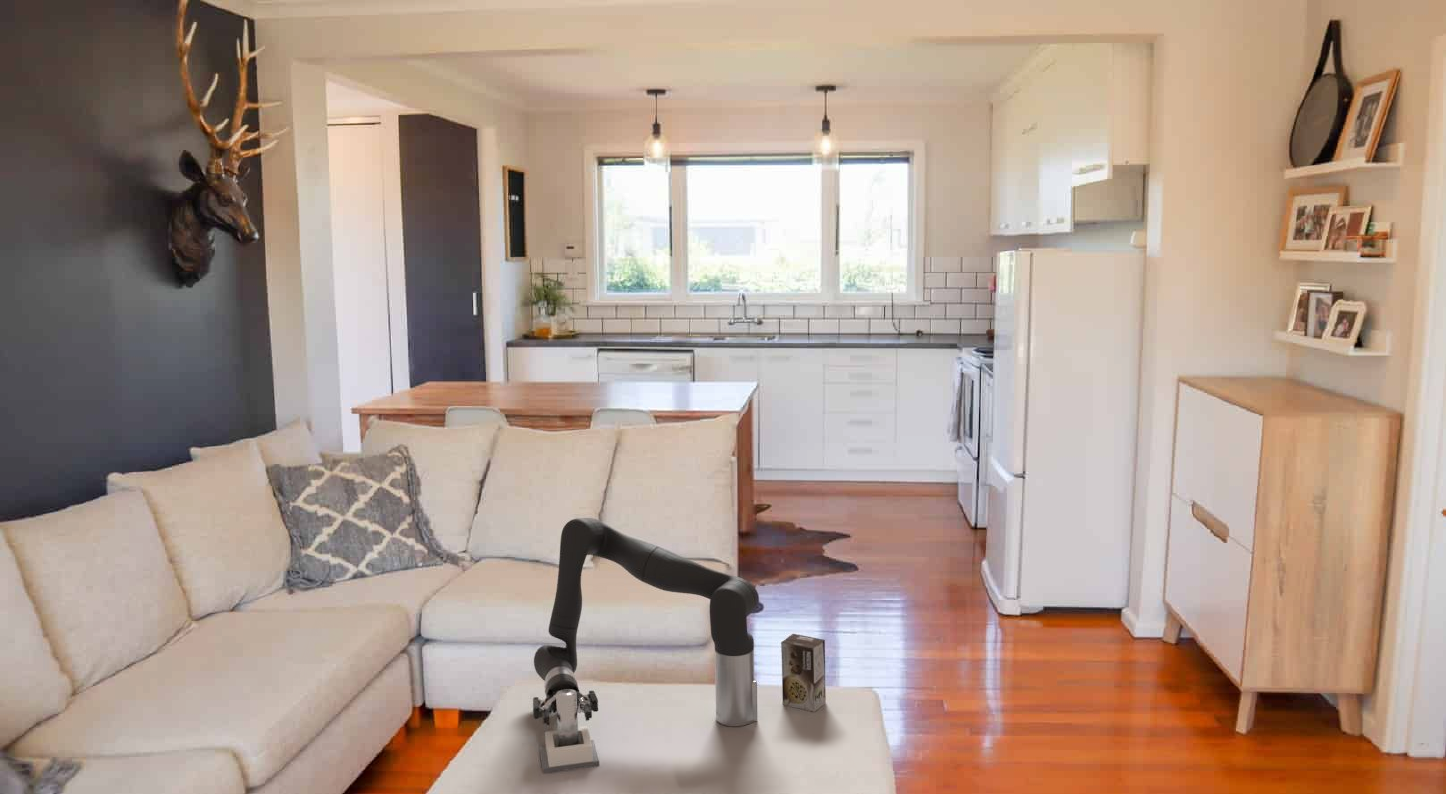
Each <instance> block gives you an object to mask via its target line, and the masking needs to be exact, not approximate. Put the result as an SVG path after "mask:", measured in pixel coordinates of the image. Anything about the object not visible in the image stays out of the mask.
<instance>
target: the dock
mask: <svg viewBox="0 0 1446 794" xmlns="http://www.w3.org/2000/svg"><path fill="white" fill-rule="evenodd" d="M544 734H545V735H544V738H545V741H544V742H545V745H544V746H540V747H539V752H540V753H539V754H540V761H541V767H542V773H543V774H547V773H552V772H553V773H554V772H560V771H561V772H562V771H568V770H576V769H584V768H592V767H597V766H600V759H599V756H598V752H597V748H596V743H595V740H594V739H591V735H590V732H589V728H588V726H582V727H578V742H579V745H571V746H564V747H558V729H557V730H552V731H551V730H550V731H545V732H544Z"/></svg>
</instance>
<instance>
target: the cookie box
mask: <svg viewBox="0 0 1446 794" xmlns="http://www.w3.org/2000/svg"><path fill="white" fill-rule="evenodd" d="M780 644H781V645H780V647H781V650H780V651H781V680H782V682H781V683H782V691H781V692H782V694H781V695H782V705H783V706H788V707H791V708H792V707H793V708H797V709H801V710H806V711H810V712H816V711H818V710H819V709H820V708H821V707H823V706H824V705H825V704H826V702H827V701H826V695H827V694H826V639H822V638H819V637H812V636H807V635H802V634H796V633H792V634H790V635H789V636H788V637H787V638H785V639H784V640H783V641H781V642H780Z"/></svg>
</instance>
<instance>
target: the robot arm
mask: <svg viewBox="0 0 1446 794" xmlns="http://www.w3.org/2000/svg"><path fill="white" fill-rule="evenodd" d="M559 544H560V545H559V558H558V559H559V561H558V571H557V573H558V574H557V583H556V591H555V597H554V603H553V606H552V612H551V617H550V621H549V625H548V634H549V635H550V636H551V637H553V638H556V639H558V640H560V641H563V642H564V644H565V647H563V646H555V645H550V644H549V645H548V644H545V645H542V646H540V647H539V648H537V650H536V651H535V653H534V657H533V666H534V670H535V672H536V674H537V675H538V676H539V677H540V678H541V679H542V680H543V681H544V694H545V696H546V697H545V699H542V700H541V699H539V697H538V696H534V697H533V698H532V713H533V715H532V717H533V719H534V720H538V719H539V718H541V720H542V724H544V725H545V724H546V727H547V726H550V725H551V724H550V721H551V719H550V718H551V717H554V716H556V715H557V704H556V693H557V692H558V691H560V690H564V689H572V690H575V691H576V693H577V714H581V713H583V714H584V718H585V721H586V722H589V721H590V719H592V717H593V713H592V712H594V713H595V712H598V711H599V704H598V703H599V698H597V695H596V692H595V690H588V693H587V694H583V693H581V692H580V688H579V685H578V681H577V677H576V675H575V673H576V670H577V667H578V654H577V653H578V652H577V634H578V628H579V624H580V619H581V616H582V615H581V614H582V610H583V594H582V572H583V567H584V564H585V562H586V558H587V556H597V557H600V558H603V559H605V560H608V561H611V562H613V563H616V564H618V565H619V566H620V567H622V568H623V569H625V571H627V572H628V573H629V574H630V575H631V576H633V577H634V578H635V579H637V580H639V581H640V582H642V583H644V584H646V585H649V586H650V587H653V588H655V589H658V590H662V591H665V592H671V593H677V594H678V593H679V594H687V595H696V596H700V597H704V598H707V599H708V600H709V624H710V634H711V639H712V641H713V644H714V671H715V672H714V673H715V674H714V675H715V679H714V681H715V682H714V683H715V685H714V686H715V717H716V721H717V722H718V723H719V724H721V725H724V726H727V727H742V726H747V725H749V724H752V723H753V722H758V720H759V719H758V683H757V680H756V679H755V643H754V642H755V641H754V637H753V635H752V634H751V633H749V632H748V620H747V617H748V616H750V614H752V613H753V612H754V611H755V609H756V608H757V607H758V605H759V601H760V598H759V597H760V596H759V592H758V590H757V588H756V587H755V586H754V585H753V584H752V583H751V582H749V581H748V580H747V579H744V578H742V577H738V576H735V575H732V574H728V573H725V572H722V571H718V570H717V569H716V570H715V569H713V568H710V567H706V566H704V565H702V564H700V563H697V562H695V561H694V560H691V559H689V558H685V557H683V556H681V555H679V554H676V553H674V552H672V551H670V550H667V549H665V548H663V547H660V546H657V545H654V544H652V543H649V542H647V541H644V540H641V539H637V538H636V537H631V536H628V535H626V534H624V533H622V532H621V531H619V530H617V529H615V528H613V527H612V526H609V525H608V524H606V523H604V522H602V521H601V520H598V519H597V518H593V517H581V518H580V517H579V518H578V517H577V518H574V519H570V520H569V521H568V522H567V523H565V525H564V526H563V528H562V531H561V535H560V543H559Z"/></svg>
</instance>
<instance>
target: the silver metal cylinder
mask: <svg viewBox="0 0 1446 794" xmlns="http://www.w3.org/2000/svg"><path fill="white" fill-rule="evenodd" d="M556 704H557V714H556V723H557V730H558V747H564V746H571V745H579V742H578V728H579V724H578V713H577V693H576V691H575V690H572V689H564V690H560V691H558V692H557V693H556Z"/></svg>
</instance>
